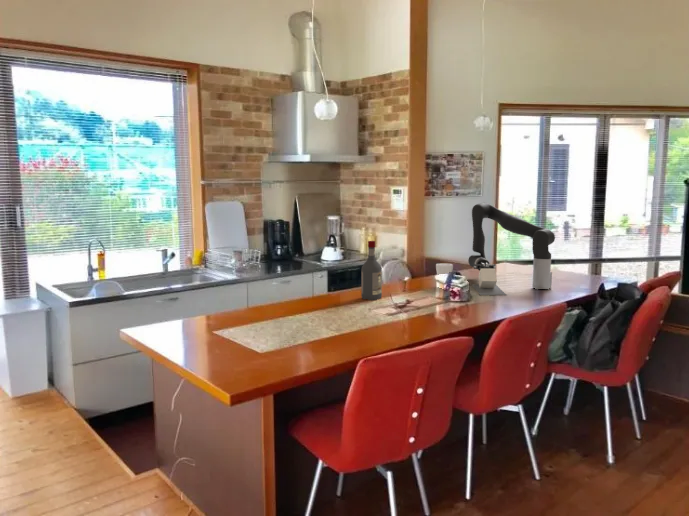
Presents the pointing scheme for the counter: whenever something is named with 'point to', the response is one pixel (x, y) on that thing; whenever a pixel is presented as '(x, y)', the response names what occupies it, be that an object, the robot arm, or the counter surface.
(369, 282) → the liquor
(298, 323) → the counter surface
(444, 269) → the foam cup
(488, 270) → the off-white cube
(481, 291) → the rubber mat
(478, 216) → the robot arm
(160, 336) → the counter surface
